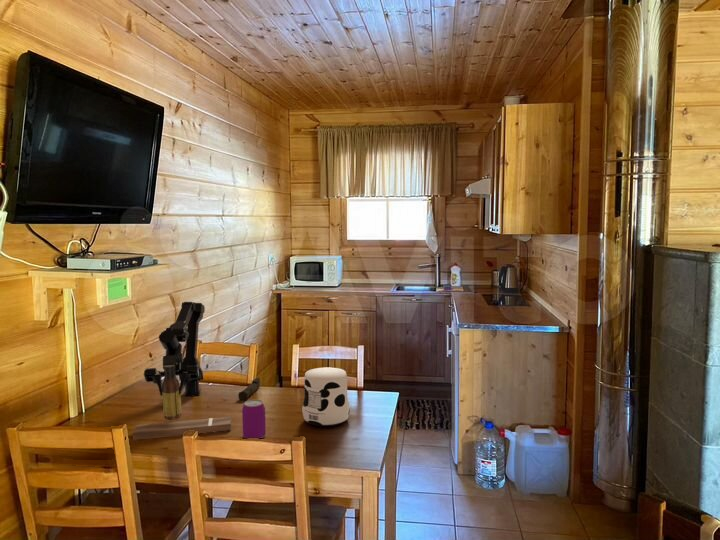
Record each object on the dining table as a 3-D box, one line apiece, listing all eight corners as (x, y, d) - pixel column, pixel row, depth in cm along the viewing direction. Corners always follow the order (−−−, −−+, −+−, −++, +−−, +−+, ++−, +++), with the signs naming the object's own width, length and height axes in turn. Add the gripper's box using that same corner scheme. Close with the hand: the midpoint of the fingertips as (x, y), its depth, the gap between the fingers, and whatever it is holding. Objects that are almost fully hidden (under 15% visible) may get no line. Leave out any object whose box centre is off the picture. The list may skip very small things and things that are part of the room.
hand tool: (247, 401, 213) (246, 390, 213) (238, 400, 214) (237, 389, 213) (265, 387, 231) (265, 377, 231) (257, 386, 232) (256, 376, 232)
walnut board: (137, 431, 182) (136, 424, 182) (231, 423, 189) (231, 416, 189) (133, 440, 176) (132, 432, 175) (230, 430, 182) (230, 423, 182)
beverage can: (269, 433, 180) (268, 399, 179) (260, 442, 173) (259, 407, 172) (248, 431, 182) (247, 397, 181) (239, 440, 175) (237, 405, 173)
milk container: (346, 411, 201) (345, 365, 199) (353, 428, 184) (352, 378, 182) (301, 414, 198) (300, 367, 196) (304, 432, 181) (303, 381, 179)
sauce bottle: (177, 413, 194) (175, 361, 192) (184, 417, 190) (183, 364, 188) (159, 417, 190) (157, 364, 188) (167, 422, 185) (165, 368, 183)
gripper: (143, 347, 189) (138, 386, 179) (197, 344, 193) (195, 382, 183) (148, 362, 197) (144, 400, 188) (199, 359, 201) (198, 396, 192)
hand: (170, 394), depth 187 cm, fingers closed on sauce bottle, 6 cm apart
